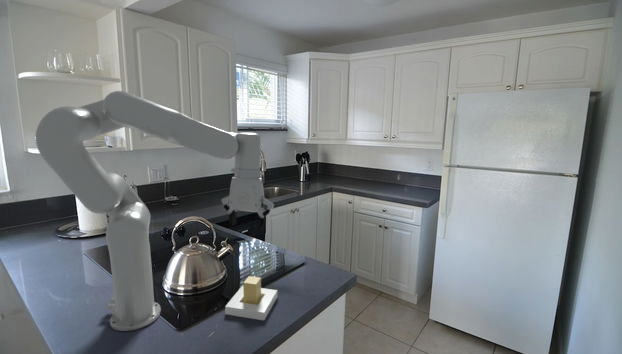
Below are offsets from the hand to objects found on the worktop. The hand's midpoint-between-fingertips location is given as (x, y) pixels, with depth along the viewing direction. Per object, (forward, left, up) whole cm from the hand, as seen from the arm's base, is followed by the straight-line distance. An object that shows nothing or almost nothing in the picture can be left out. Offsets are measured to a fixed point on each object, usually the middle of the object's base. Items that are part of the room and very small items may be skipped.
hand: (247, 227), depth 96 cm
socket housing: (+4, -6, -23) cm, 24 cm away
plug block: (+4, -6, -23) cm, 24 cm away
